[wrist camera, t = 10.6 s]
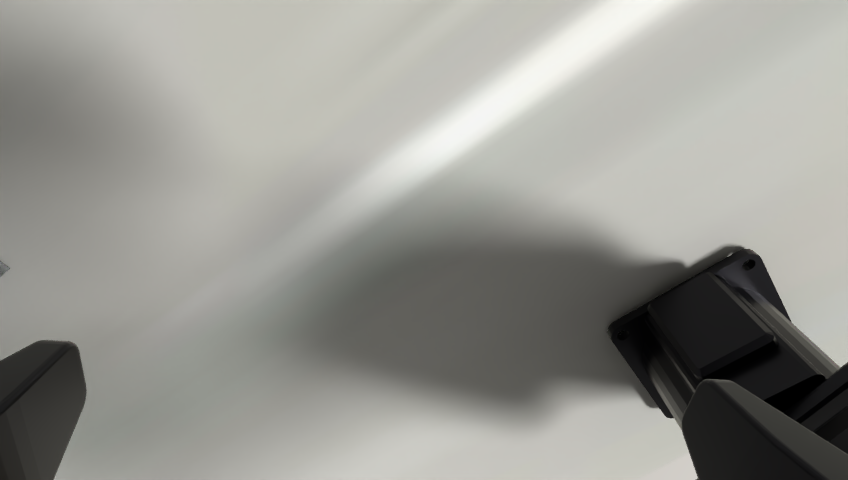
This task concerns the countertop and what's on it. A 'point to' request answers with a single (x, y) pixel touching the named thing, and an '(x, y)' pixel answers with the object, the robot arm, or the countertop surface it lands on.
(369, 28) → the countertop surface
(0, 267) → the tray
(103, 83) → the countertop surface
